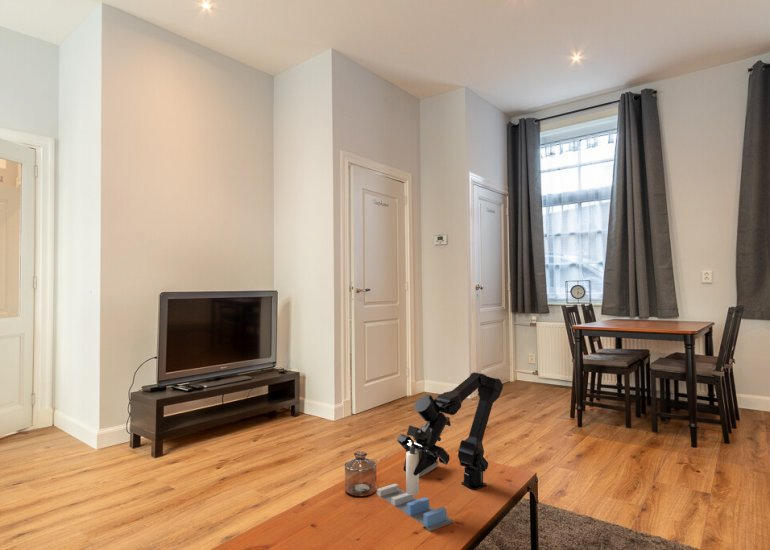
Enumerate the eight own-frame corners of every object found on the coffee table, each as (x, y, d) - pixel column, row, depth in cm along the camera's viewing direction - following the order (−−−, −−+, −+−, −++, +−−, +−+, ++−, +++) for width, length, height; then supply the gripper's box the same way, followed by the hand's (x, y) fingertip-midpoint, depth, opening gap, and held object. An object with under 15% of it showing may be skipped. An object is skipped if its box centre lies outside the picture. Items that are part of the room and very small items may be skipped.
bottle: (410, 487, 149) (410, 443, 150) (421, 491, 147) (421, 446, 147) (403, 492, 146) (403, 447, 146) (414, 495, 144) (414, 449, 144)
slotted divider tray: (396, 489, 164) (396, 477, 164) (452, 522, 141) (452, 509, 141) (375, 495, 159) (375, 484, 159) (429, 531, 136) (429, 517, 136)
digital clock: (416, 481, 171) (416, 451, 171) (398, 473, 177) (398, 445, 178) (445, 469, 182) (445, 441, 182) (427, 462, 188) (427, 436, 189)
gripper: (400, 409, 157) (375, 450, 149) (443, 421, 143) (418, 467, 135) (417, 428, 162) (393, 469, 154) (460, 441, 148) (436, 487, 140)
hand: (409, 472), depth 146 cm, fingers closed on bottle, 4 cm apart
